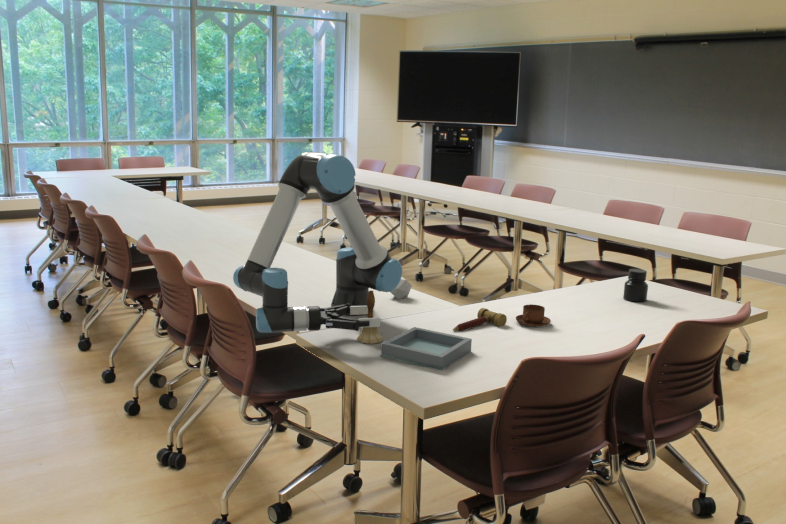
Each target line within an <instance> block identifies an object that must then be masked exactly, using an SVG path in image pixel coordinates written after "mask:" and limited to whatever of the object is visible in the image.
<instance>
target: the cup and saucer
mask: <svg viewBox="0 0 786 524" xmlns="http://www.w3.org/2000/svg"><path fill="white" fill-rule="evenodd" d="M522 308H523V309H522V314H519V315H516V316H515V321H516V322H518V324H521V325H523V326H525V327H526V326H527V327H532V328H533V327H534V328H540V327H541V328H542V327H546V326H548V325H549V324H550V323H551V322H552V320H551V319H550V318H549V317H548V316H545V311H546V309H545V306H542V305H540V304H539V305H538V304H525V305H523V306H522Z"/></svg>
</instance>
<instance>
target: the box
mask: <svg viewBox="0 0 786 524" xmlns="http://www.w3.org/2000/svg"><path fill="white" fill-rule="evenodd" d="M380 347H381V348H380V349H381V350H380V352H381V353H380V356H381V357H382V358H385V359H386V358H387V359H390V358H391V360H395V361H399V362H402V363H408V364H412V365H416V366H419V367H425V368H428V369H433V370H436V371H437V370H438V371H440V372H441V371H443V370H445V369H446V368H448V367H449V366H450V365H452V364H455V362H457V361H459V360H460V359H462V358H463V357H465V356H466V355H468V354H469V353H471V352H472V338H470V337H464V336H460V335H454V334H452V333H451V334H450V333H445V332H440V331H435V330H431V329H426V328H421V327H416V326H414V327H411V328H410V329H407V330H406V331H404V332H401V333H400V334H398V335H395V336H393V337H391V338H389V339H387V340H385V341H384V342H381V345H380Z"/></svg>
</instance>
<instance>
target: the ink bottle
mask: <svg viewBox="0 0 786 524" xmlns="http://www.w3.org/2000/svg"><path fill="white" fill-rule="evenodd" d="M647 273H648V272H647V270H645V269H641V268H629V269H628V277H627V279H628V280H626V281H625V282H624V285H623V286H624V287H623V295H622V296H623V299H624V300H625V301H628V302H633V303H644V302H647V299H648V289H649V285H648V283H647V282H646V281H647Z"/></svg>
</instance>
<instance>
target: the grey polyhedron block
mask: <svg viewBox="0 0 786 524" xmlns="http://www.w3.org/2000/svg"><path fill="white" fill-rule="evenodd" d="M412 287H413V285H412V284H411V283H410V282H409V281H408V280H407V279H405V277H404V276H401V280H400V282H399V284H398V285H397V287H396V288H395V289H394V290H392V291H390V292H389V293H390V294H391V295H393V297H395V298H396V299H397V300H402V299H406V298H408V296H409V294H410V292H411V290H412Z"/></svg>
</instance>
